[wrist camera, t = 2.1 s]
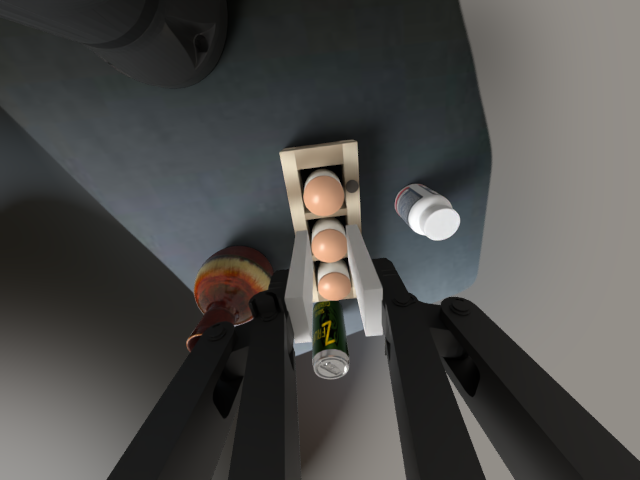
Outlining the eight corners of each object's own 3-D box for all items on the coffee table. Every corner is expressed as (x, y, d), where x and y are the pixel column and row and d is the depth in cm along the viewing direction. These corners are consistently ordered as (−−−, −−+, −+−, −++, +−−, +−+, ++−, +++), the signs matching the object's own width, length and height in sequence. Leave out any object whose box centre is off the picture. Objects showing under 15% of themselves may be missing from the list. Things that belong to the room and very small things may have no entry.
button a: (302, 171, 29) (300, 179, 25) (338, 166, 29) (342, 173, 25) (307, 205, 31) (306, 218, 27) (341, 201, 31) (345, 213, 27)
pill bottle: (395, 221, 35) (418, 250, 27) (392, 188, 33) (416, 209, 25) (431, 213, 34) (464, 240, 27) (430, 179, 32) (467, 197, 24)
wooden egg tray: (283, 148, 30) (279, 152, 26) (352, 139, 30) (357, 141, 26) (309, 287, 41) (308, 303, 37) (360, 281, 40) (364, 297, 36)
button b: (309, 219, 32) (309, 232, 28) (342, 215, 32) (346, 228, 28) (314, 247, 34) (314, 264, 30) (345, 244, 34) (349, 260, 30)
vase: (291, 264, 38) (278, 344, 25) (253, 302, 42) (223, 390, 28) (234, 224, 35) (181, 290, 21) (198, 269, 39) (134, 351, 25)
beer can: (347, 307, 43) (358, 368, 32) (326, 321, 44) (329, 384, 34) (328, 290, 41) (333, 350, 30) (307, 306, 43) (304, 368, 32)
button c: (316, 258, 35) (316, 276, 31) (346, 255, 35) (350, 272, 31) (319, 282, 37) (320, 302, 33) (348, 279, 37) (352, 298, 33)
